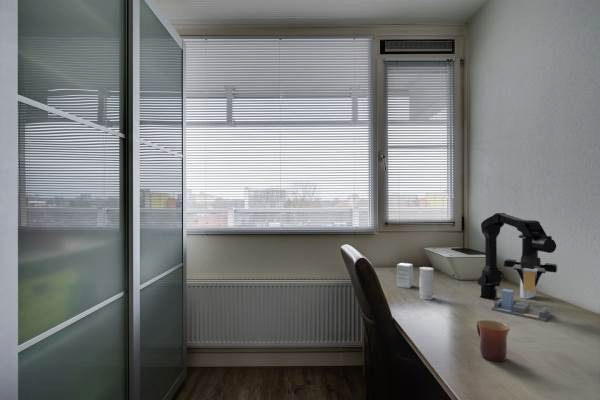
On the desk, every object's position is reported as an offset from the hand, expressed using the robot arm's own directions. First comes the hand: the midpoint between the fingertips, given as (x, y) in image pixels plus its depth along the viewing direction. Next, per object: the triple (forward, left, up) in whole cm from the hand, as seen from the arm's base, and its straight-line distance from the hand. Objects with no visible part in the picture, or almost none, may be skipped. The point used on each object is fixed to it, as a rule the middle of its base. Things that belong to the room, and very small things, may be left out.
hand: (529, 285), depth 146 cm
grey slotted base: (-4, +1, -13) cm, 14 cm away
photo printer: (-7, +32, -13) cm, 36 cm away
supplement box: (-62, +6, -13) cm, 63 cm away
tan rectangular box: (0, 0, -2) cm, 2 cm away
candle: (-43, -8, -13) cm, 45 cm away
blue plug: (-9, +1, -12) cm, 15 cm away
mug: (-1, -55, -13) cm, 56 cm away
